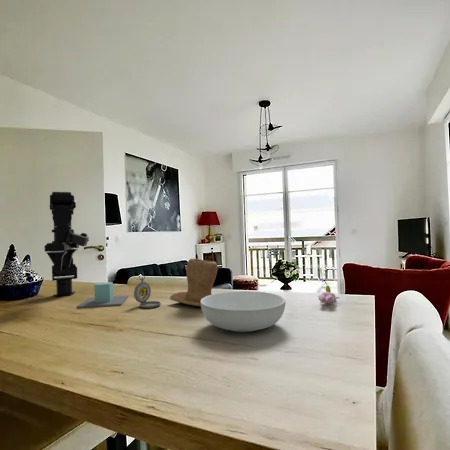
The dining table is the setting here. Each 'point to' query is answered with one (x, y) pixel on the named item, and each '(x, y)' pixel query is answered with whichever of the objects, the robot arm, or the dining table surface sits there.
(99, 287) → the teal block
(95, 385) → the dining table surface
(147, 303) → the pocket watch
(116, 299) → the charcoal mat
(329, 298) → the stuffed toy
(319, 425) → the dining table surface
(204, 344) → the dining table surface
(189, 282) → the tan curved piece
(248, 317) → the serving bowl
